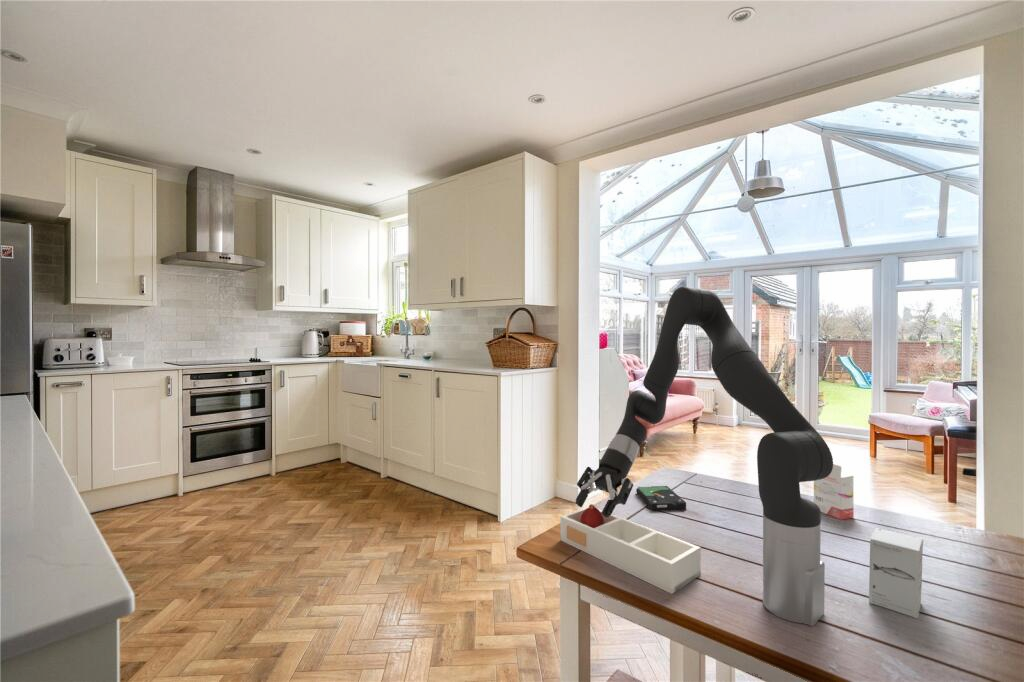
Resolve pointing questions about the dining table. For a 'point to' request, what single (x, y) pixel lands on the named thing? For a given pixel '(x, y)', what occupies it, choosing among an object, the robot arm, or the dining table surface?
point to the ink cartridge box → (835, 494)
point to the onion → (592, 517)
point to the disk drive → (661, 498)
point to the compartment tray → (635, 549)
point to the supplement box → (896, 571)
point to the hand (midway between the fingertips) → (591, 510)
